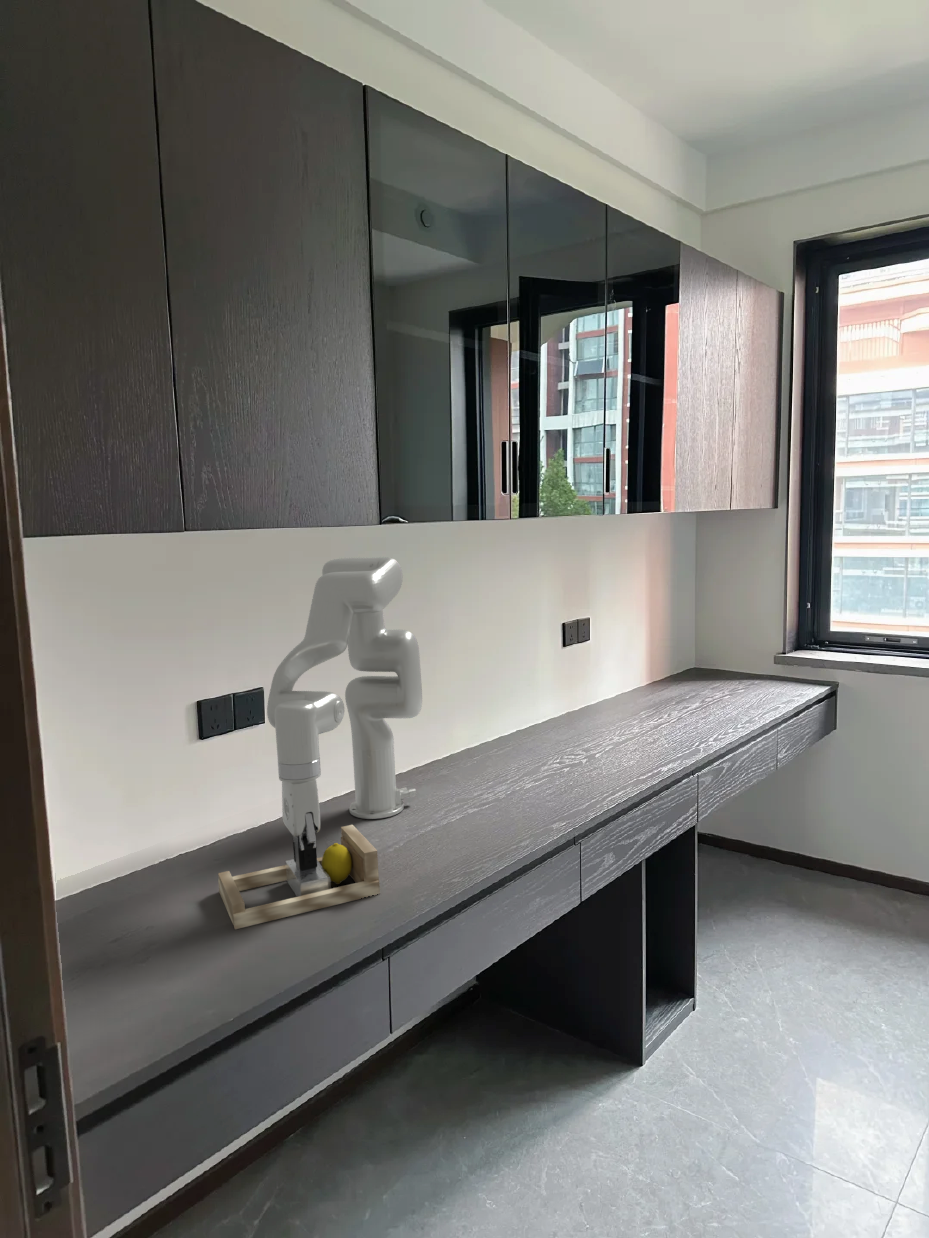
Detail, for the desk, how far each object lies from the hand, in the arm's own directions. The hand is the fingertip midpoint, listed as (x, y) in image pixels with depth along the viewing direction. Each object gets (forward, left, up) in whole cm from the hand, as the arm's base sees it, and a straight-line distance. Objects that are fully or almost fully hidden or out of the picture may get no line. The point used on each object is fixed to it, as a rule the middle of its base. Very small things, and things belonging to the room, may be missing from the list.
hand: (305, 863), depth 156 cm
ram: (0, 0, -5) cm, 5 cm away
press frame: (+2, 0, -5) cm, 5 cm away
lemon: (-6, 0, -5) cm, 8 cm away
